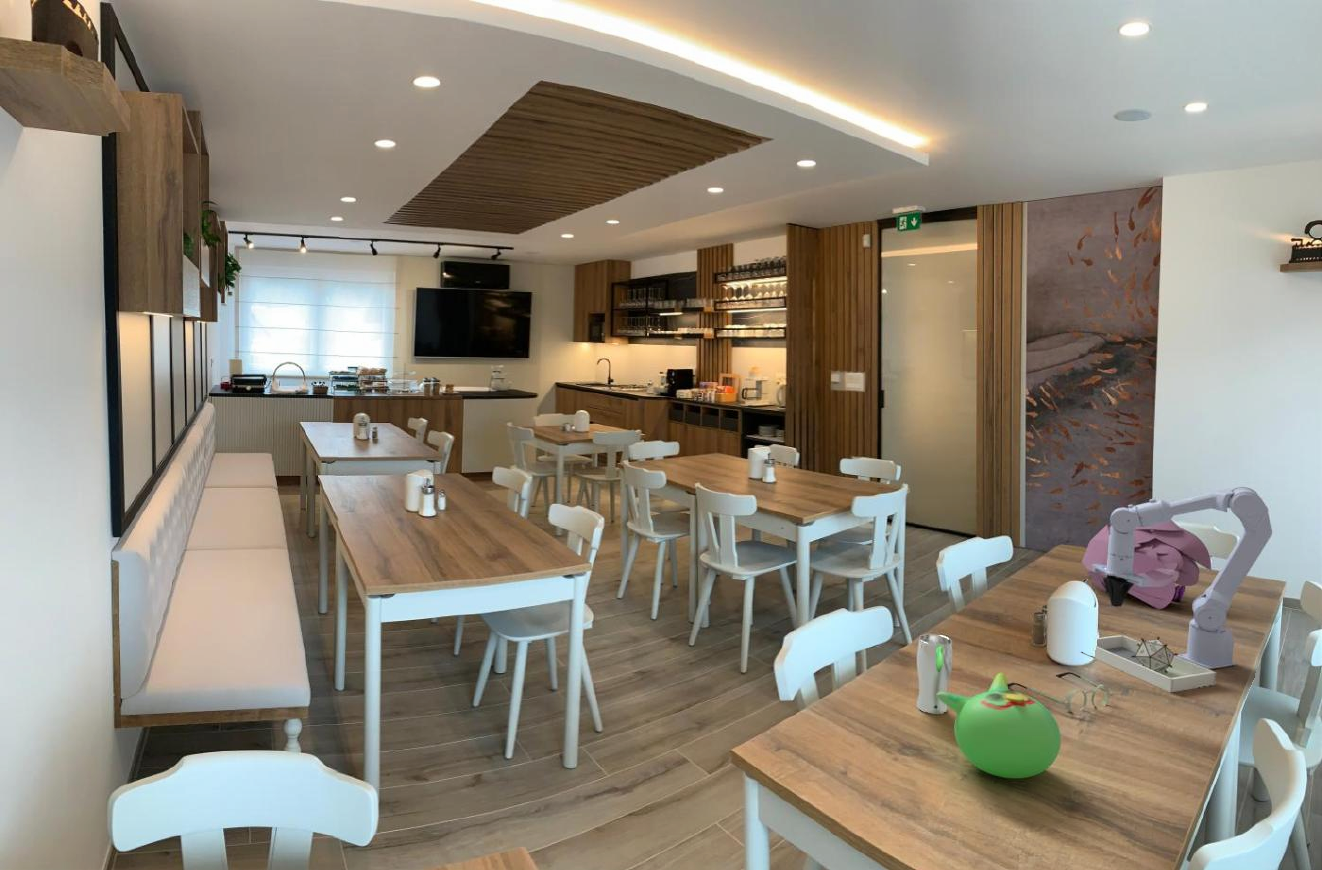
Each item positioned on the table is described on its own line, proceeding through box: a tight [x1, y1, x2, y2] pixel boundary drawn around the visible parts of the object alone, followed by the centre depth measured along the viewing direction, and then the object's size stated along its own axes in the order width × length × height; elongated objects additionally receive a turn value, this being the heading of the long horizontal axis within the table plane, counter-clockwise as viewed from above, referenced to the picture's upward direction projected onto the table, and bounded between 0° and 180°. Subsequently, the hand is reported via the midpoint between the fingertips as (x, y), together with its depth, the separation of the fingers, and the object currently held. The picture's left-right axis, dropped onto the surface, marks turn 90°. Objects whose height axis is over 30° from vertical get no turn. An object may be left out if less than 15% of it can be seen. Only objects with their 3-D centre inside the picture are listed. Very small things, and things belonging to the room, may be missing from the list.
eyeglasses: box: [1007, 671, 1115, 713], centre depth 164 cm, size 17×15×5 cm
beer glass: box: [915, 633, 953, 715], centre depth 155 cm, size 7×7×15 cm
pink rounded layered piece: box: [1081, 519, 1212, 610], centre depth 234 cm, size 35×24×28 cm
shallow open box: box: [1094, 634, 1217, 693], centre depth 179 cm, size 14×24×3 cm, turn 18°
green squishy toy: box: [936, 672, 1062, 779], centre depth 133 cm, size 18×17×15 cm
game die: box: [1131, 636, 1179, 673], centre depth 176 cm, size 9×8×10 cm
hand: (1116, 605), depth 193 cm, fingers closed
